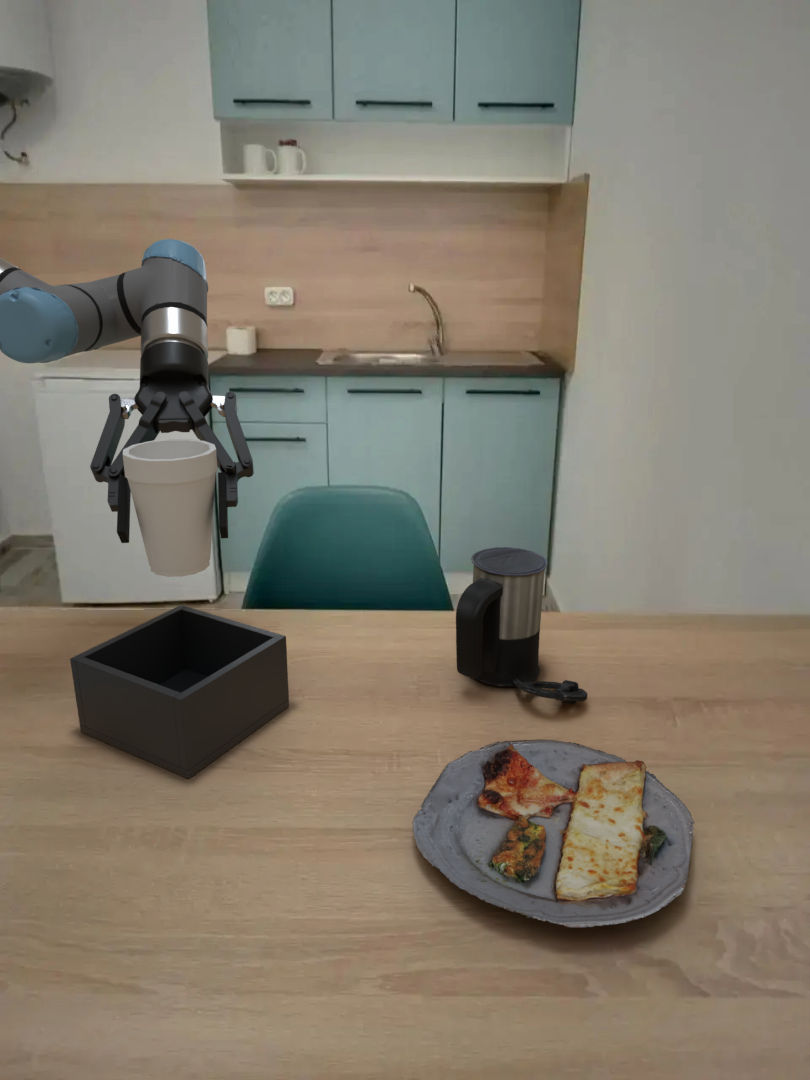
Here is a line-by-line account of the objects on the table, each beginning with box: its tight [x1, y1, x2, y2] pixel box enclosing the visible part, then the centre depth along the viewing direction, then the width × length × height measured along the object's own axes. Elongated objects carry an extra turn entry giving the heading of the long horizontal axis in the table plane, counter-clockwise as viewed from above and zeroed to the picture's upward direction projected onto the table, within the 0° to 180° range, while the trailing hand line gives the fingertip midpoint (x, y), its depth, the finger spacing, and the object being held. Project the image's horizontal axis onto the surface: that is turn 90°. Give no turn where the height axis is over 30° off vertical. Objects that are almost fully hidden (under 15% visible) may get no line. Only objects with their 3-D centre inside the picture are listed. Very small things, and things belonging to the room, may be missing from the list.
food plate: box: [412, 738, 695, 929], centre depth 74 cm, size 25×23×4 cm
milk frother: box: [455, 546, 589, 705], centre depth 98 cm, size 14×16×15 cm
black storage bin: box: [69, 604, 290, 780], centre depth 91 cm, size 16×16×9 cm
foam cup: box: [123, 438, 219, 578], centre depth 88 cm, size 10×9×13 cm
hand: (173, 535), depth 86 cm, fingers closed on foam cup, 9 cm apart
